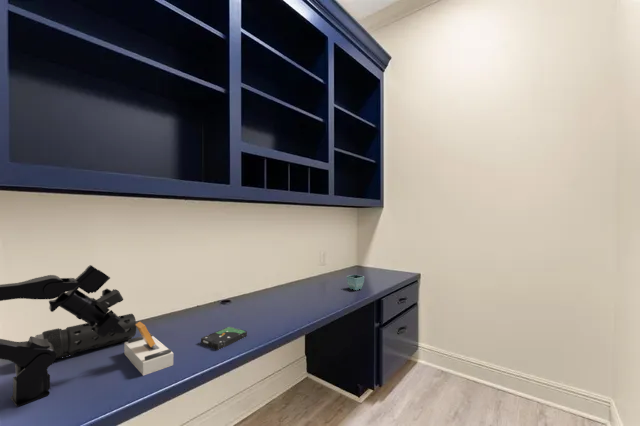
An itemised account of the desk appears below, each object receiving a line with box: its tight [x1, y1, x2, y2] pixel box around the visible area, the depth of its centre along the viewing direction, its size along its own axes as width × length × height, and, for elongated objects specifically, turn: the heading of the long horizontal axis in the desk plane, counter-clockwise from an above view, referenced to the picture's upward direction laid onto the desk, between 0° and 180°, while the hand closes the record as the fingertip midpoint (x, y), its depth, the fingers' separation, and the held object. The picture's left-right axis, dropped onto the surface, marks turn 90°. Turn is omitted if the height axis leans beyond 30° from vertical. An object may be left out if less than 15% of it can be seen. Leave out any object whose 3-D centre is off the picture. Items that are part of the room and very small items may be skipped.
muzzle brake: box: [34, 313, 137, 359], centre depth 108 cm, size 10×28×10 cm, turn 139°
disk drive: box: [200, 326, 248, 351], centre depth 119 cm, size 10×3×15 cm
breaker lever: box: [135, 321, 156, 349], centre depth 102 cm, size 2×6×9 cm, turn 47°
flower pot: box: [346, 274, 365, 291], centre depth 200 cm, size 9×9×9 cm
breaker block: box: [123, 333, 174, 376], centre depth 102 cm, size 9×20×5 cm, turn 47°
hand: (123, 331), depth 97 cm, fingers closed
